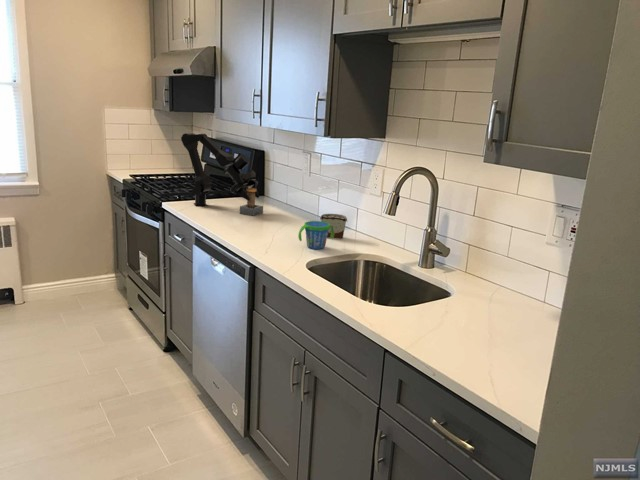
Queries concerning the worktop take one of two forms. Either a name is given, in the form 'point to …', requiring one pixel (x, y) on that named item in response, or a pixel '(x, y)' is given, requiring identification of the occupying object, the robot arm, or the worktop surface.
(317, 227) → the snack cup
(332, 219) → the food container
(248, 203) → the pin
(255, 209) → the block
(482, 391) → the worktop surface
